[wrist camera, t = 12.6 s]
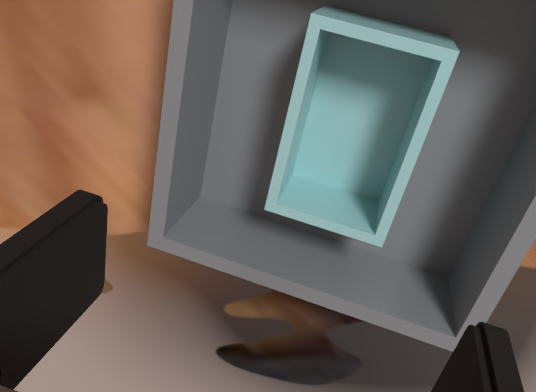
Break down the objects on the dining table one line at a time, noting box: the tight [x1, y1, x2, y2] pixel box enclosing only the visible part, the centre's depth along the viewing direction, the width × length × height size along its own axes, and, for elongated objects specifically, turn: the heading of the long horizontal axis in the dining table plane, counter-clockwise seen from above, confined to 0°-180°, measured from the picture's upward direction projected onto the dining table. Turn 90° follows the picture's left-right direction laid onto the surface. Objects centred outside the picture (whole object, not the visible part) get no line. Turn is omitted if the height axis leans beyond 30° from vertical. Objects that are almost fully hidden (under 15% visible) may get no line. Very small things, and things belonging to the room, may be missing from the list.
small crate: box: [264, 5, 460, 247], centre depth 27 cm, size 11×7×5 cm, turn 168°
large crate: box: [147, 0, 536, 351], centre depth 27 cm, size 20×20×7 cm
